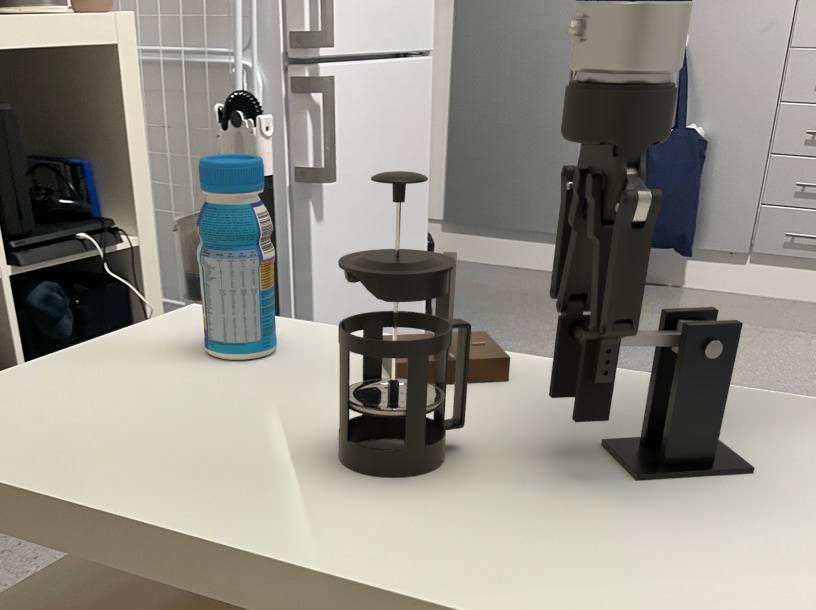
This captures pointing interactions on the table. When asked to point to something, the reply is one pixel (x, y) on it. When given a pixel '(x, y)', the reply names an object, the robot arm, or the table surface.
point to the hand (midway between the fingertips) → (577, 407)
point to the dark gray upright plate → (447, 295)
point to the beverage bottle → (236, 258)
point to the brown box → (483, 359)
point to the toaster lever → (639, 335)
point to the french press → (391, 397)
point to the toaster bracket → (686, 403)
